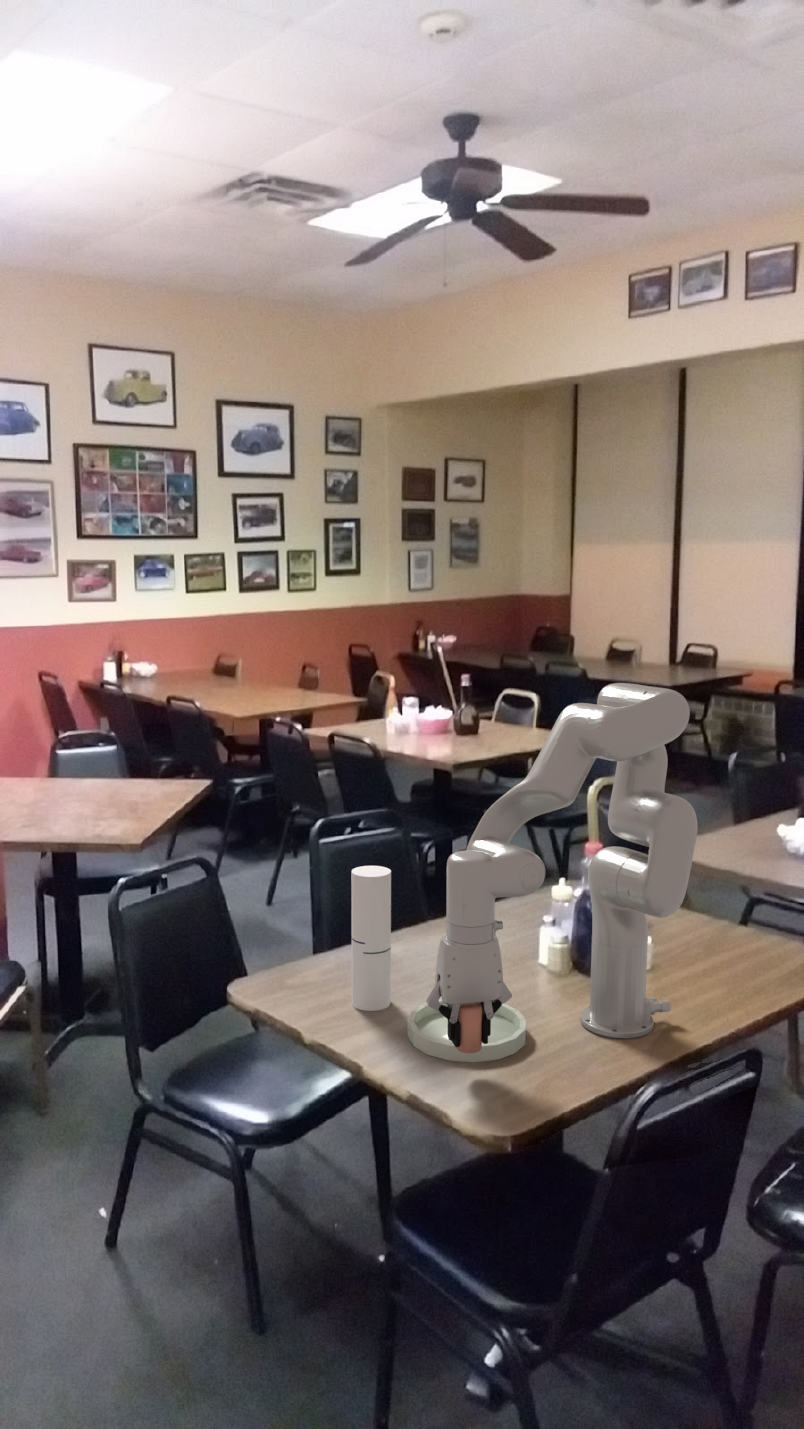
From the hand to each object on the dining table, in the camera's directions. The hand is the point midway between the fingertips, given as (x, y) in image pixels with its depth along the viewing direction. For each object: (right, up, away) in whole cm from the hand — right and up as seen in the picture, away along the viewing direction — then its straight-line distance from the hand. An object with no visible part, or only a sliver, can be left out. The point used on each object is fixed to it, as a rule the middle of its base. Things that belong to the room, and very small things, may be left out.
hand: (468, 1040), depth 169 cm
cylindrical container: (-16, -2, +27) cm, 32 cm away
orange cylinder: (0, -1, 0) cm, 1 cm away
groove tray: (+1, -3, +14) cm, 15 cm away
